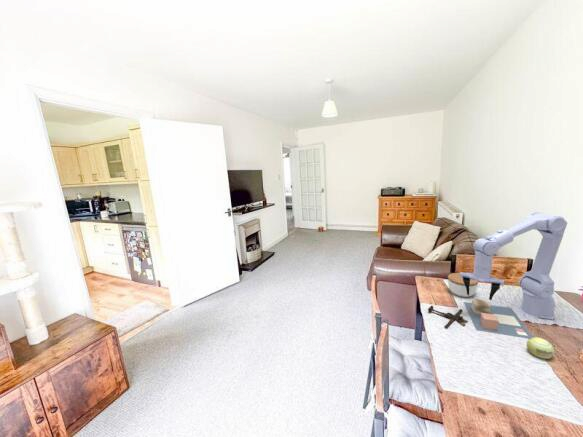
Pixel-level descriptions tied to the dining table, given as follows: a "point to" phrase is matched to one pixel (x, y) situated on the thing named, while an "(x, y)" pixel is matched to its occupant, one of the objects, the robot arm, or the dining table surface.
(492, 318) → the terracotta block
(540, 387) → the dining table surface
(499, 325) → the board
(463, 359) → the dining table surface
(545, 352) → the tennis ball
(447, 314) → the bear figurine
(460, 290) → the lidded bowl
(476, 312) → the maple block
